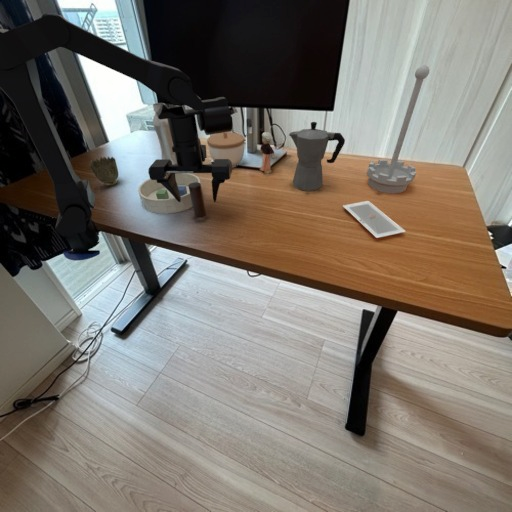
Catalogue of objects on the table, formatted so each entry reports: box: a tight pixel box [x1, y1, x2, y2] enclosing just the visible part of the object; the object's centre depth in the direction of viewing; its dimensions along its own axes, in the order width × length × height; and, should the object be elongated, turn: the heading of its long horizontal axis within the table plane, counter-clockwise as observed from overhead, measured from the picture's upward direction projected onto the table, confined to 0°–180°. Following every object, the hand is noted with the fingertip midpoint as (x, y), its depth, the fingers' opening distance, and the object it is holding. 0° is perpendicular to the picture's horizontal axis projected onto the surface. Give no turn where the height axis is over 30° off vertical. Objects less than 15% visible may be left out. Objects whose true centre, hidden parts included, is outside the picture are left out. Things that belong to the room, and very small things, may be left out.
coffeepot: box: [288, 121, 346, 192], centre depth 77 cm, size 15×9×18 cm, turn 72°
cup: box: [88, 156, 119, 188], centre depth 84 cm, size 8×7×8 cm
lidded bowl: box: [206, 132, 245, 169], centre depth 93 cm, size 13×13×11 cm
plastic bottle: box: [152, 102, 177, 165], centre depth 91 cm, size 6×7×20 cm
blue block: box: [178, 186, 187, 196], centre depth 78 cm, size 2×2×2 cm
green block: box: [156, 190, 169, 199], centre depth 77 cm, size 2×2×2 cm
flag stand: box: [366, 64, 430, 194], centre depth 72 cm, size 13×13×30 cm
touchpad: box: [342, 200, 407, 239], centre depth 67 cm, size 8×15×2 cm, turn 16°
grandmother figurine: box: [259, 131, 276, 175], centre depth 87 cm, size 8×4×13 cm, turn 45°
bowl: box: [137, 173, 203, 215], centre depth 78 cm, size 17×17×4 cm
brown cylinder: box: [188, 182, 207, 219], centre depth 69 cm, size 3×3×9 cm
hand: (197, 201), depth 69 cm, fingers open, 9 cm apart
